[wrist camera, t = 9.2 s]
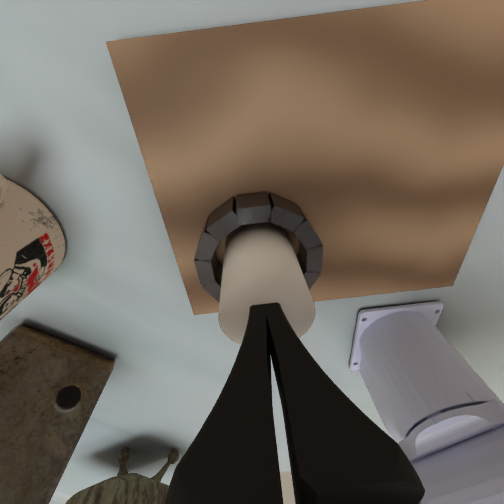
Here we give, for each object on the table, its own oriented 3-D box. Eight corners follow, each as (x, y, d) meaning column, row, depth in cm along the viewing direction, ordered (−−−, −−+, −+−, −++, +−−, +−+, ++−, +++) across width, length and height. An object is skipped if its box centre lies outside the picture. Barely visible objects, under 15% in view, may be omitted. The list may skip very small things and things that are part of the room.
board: (440, 275, 22) (452, 285, 20) (196, 302, 22) (193, 314, 21) (545, -7, 12) (581, -20, 11) (119, 48, 13) (105, 41, 11)
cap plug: (288, 268, 19) (312, 345, 13) (229, 273, 19) (224, 352, 13) (289, 212, 16) (318, 274, 10) (221, 217, 16) (211, 283, 10)
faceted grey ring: (311, 283, 20) (319, 305, 17) (212, 294, 20) (209, 317, 18) (313, 185, 15) (325, 198, 13) (189, 200, 16) (181, 215, 13)
